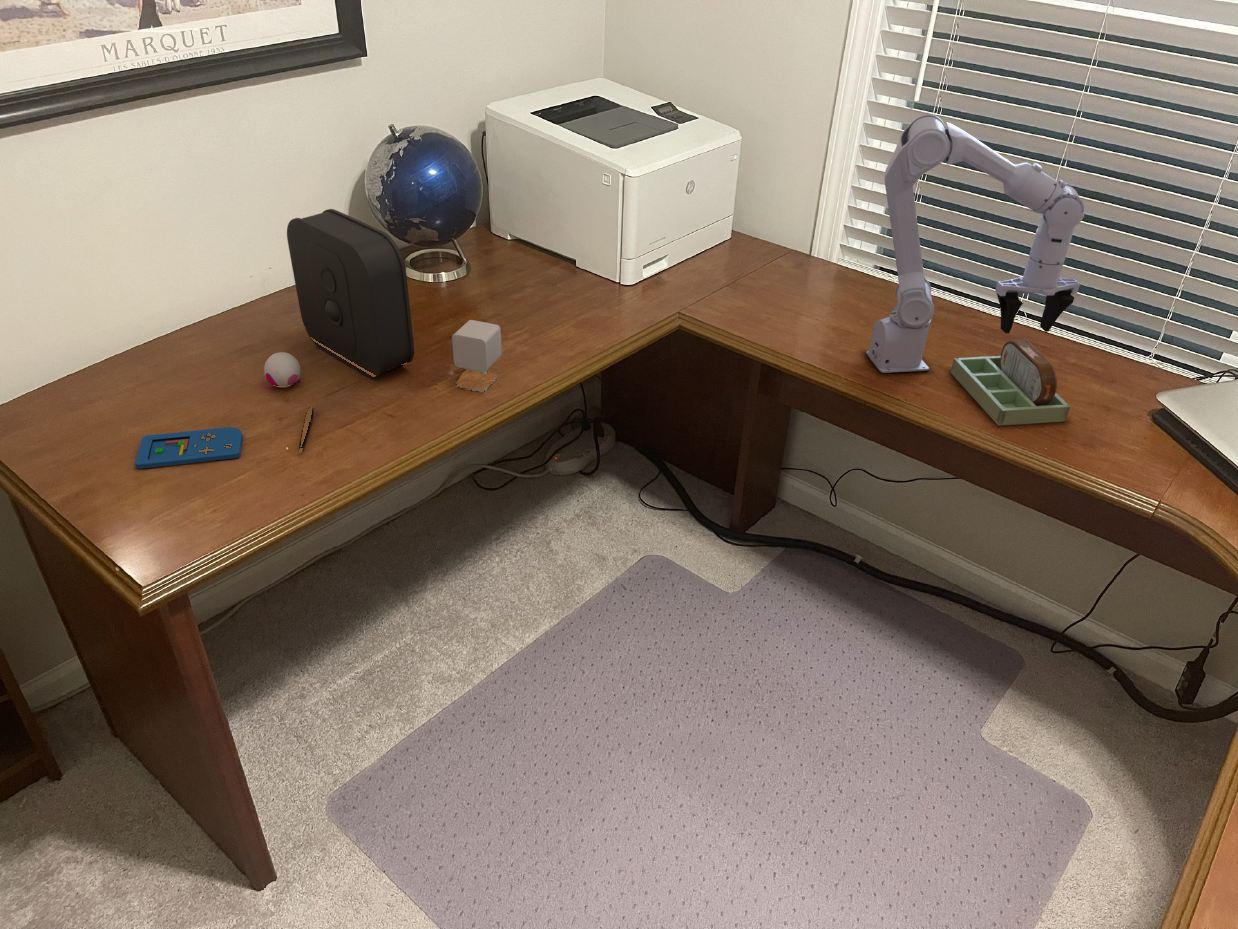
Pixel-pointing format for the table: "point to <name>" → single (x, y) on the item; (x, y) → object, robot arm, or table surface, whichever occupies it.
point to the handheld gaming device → (188, 447)
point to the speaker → (352, 290)
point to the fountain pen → (306, 434)
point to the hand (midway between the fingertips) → (1024, 330)
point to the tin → (1029, 371)
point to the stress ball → (282, 369)
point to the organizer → (1003, 393)
